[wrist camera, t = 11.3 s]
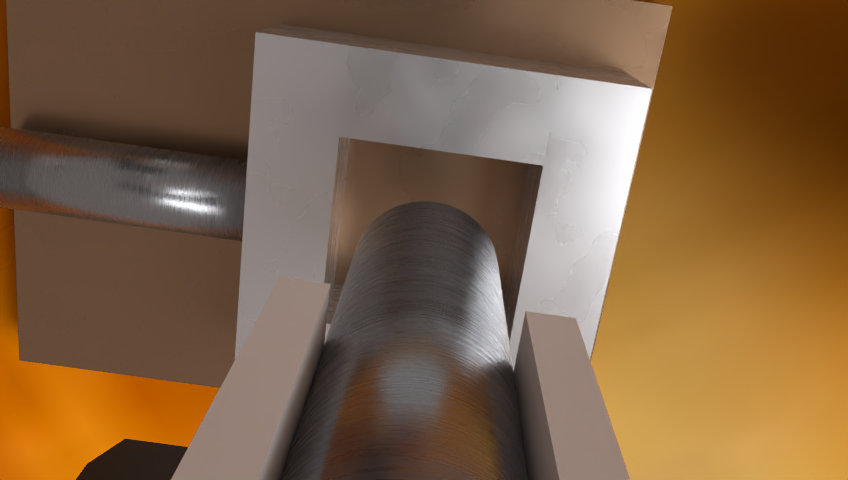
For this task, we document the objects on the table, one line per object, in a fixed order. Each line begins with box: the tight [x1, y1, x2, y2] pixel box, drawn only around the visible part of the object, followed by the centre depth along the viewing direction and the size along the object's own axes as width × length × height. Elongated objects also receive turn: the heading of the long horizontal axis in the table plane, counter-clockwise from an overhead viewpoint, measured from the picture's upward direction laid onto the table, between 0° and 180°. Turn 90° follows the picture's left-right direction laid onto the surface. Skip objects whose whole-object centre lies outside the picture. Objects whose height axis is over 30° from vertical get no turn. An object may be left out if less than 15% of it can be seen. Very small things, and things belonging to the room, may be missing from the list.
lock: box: [0, 0, 673, 388], centre depth 20 cm, size 12×16×4 cm
